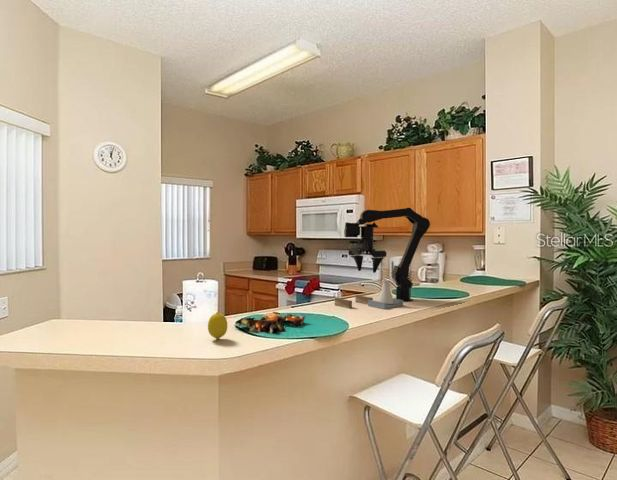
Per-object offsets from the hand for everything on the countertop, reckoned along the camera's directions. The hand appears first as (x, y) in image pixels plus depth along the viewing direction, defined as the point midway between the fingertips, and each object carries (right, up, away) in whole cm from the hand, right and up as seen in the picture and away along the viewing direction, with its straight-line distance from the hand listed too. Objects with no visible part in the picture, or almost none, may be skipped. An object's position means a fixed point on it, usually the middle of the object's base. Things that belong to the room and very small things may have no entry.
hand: (366, 271), depth 183 cm
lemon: (-53, -15, -67) cm, 86 cm away
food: (-39, -15, -48) cm, 64 cm away
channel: (-7, -13, -12) cm, 19 cm away
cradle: (+6, -13, -13) cm, 20 cm away
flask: (+6, -13, -13) cm, 19 cm away
